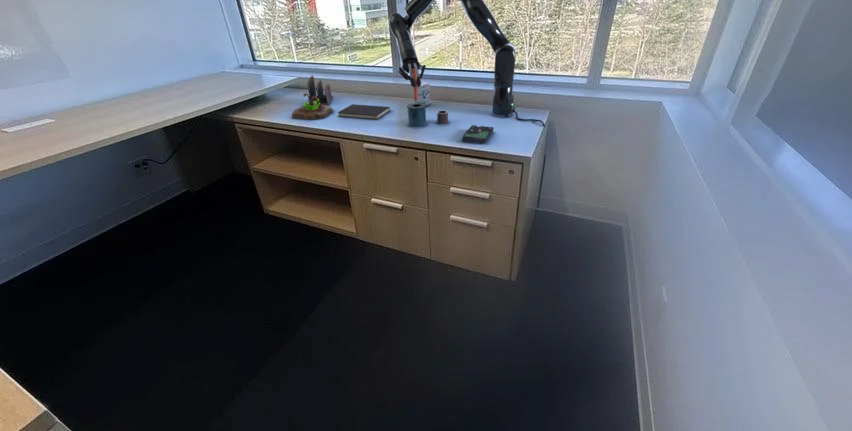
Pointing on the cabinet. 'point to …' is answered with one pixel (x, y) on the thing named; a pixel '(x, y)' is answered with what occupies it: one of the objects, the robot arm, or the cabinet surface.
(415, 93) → the straw
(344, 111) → the hardcover book
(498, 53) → the robot arm
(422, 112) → the tumbler
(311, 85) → the letter holder
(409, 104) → the tumbler lid
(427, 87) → the ink box
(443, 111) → the straw holder
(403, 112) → the cabinet surface
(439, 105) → the cabinet surface
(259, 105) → the cabinet surface
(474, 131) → the disk drive
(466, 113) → the cabinet surface
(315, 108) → the plant
